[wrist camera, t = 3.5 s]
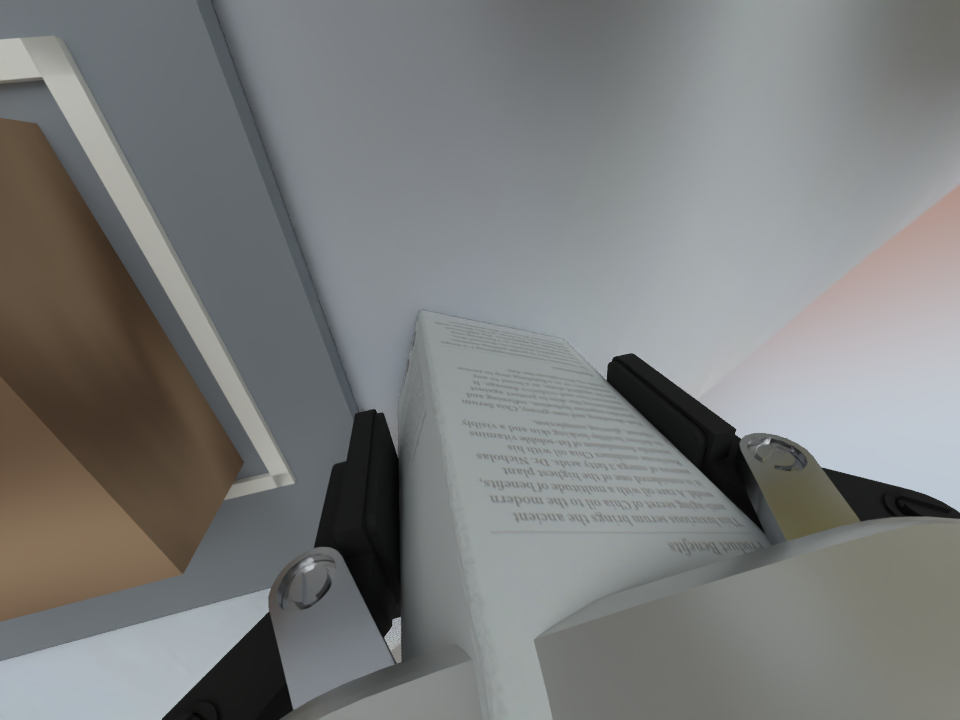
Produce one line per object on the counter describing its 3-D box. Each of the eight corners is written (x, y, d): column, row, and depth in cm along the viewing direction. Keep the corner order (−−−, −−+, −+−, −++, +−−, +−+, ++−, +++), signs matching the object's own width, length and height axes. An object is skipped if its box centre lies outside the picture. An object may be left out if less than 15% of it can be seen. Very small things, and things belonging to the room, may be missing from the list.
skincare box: (395, 407, 14) (384, 1135, 3) (417, 305, 12) (545, 1127, 2) (532, 423, 16) (807, 919, 5) (568, 336, 14) (1086, 811, 3)
